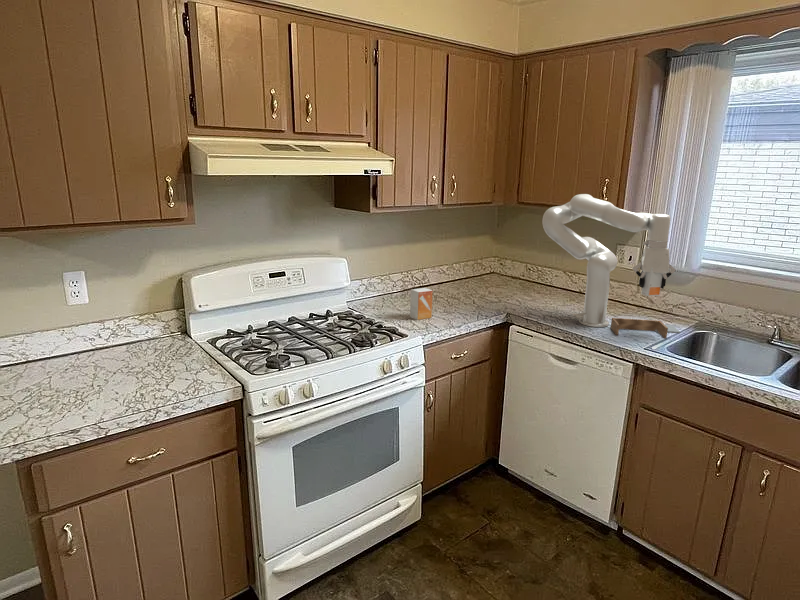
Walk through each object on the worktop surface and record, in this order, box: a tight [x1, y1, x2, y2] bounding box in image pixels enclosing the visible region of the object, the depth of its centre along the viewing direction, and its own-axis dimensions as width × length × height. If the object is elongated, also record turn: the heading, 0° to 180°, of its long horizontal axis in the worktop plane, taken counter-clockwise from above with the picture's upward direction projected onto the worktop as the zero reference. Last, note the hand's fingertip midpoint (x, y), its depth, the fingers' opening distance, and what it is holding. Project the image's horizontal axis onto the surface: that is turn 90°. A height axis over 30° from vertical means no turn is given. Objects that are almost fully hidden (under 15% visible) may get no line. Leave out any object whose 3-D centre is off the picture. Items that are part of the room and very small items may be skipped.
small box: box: [409, 287, 434, 321], centre depth 237 cm, size 8×6×13 cm
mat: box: [654, 324, 681, 334], centre depth 227 cm, size 10×10×1 cm
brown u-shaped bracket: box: [610, 317, 668, 339], centre depth 220 cm, size 20×11×4 cm, turn 80°
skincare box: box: [640, 268, 663, 297], centre depth 215 cm, size 6×4×12 cm
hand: (651, 287), depth 216 cm, fingers closed on skincare box, 7 cm apart
